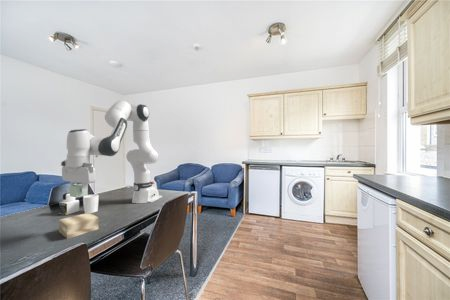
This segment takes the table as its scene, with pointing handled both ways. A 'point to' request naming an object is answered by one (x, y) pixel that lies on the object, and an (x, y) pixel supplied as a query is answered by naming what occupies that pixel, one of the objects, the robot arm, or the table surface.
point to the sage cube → (77, 191)
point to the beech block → (78, 225)
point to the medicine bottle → (68, 205)
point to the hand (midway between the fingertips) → (78, 191)
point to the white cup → (90, 203)
